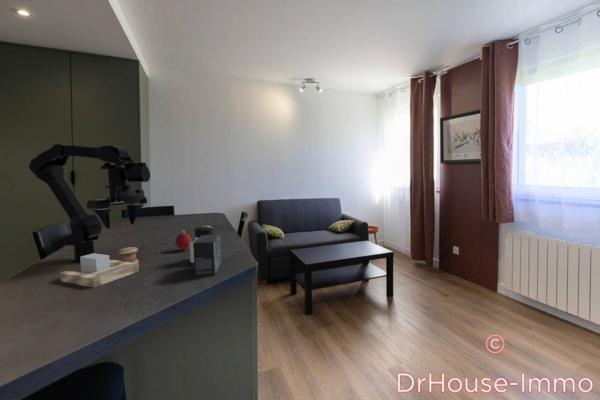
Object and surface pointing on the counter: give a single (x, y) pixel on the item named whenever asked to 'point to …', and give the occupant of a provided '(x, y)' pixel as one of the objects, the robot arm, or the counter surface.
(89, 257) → the tall pale grey block
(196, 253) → the small box
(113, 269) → the notched board
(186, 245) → the onion
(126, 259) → the wooden spool
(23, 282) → the counter surface
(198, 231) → the medicine bottle
